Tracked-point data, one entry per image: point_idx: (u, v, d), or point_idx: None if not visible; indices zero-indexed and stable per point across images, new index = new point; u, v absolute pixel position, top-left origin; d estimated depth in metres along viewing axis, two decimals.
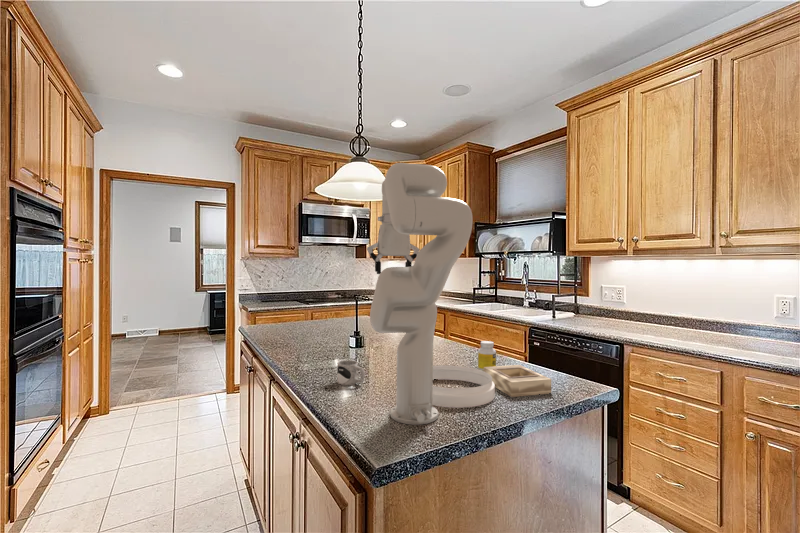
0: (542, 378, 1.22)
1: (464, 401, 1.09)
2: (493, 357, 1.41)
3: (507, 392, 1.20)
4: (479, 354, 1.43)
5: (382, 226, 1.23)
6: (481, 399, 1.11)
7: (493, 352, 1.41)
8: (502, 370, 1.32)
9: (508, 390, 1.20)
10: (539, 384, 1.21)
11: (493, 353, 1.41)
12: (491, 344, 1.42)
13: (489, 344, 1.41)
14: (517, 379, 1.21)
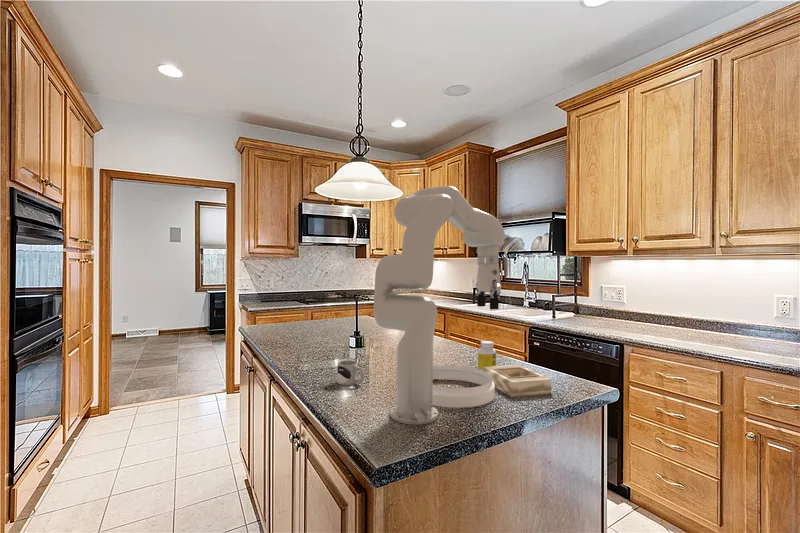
0: (542, 378, 1.22)
1: (464, 401, 1.09)
2: (493, 357, 1.41)
3: (507, 392, 1.20)
4: (479, 354, 1.43)
5: (498, 267, 1.40)
6: (481, 399, 1.11)
7: (493, 352, 1.41)
8: (502, 370, 1.32)
9: (508, 390, 1.20)
10: (539, 384, 1.21)
11: (493, 353, 1.41)
12: (491, 344, 1.42)
13: (489, 344, 1.41)
14: (517, 379, 1.21)
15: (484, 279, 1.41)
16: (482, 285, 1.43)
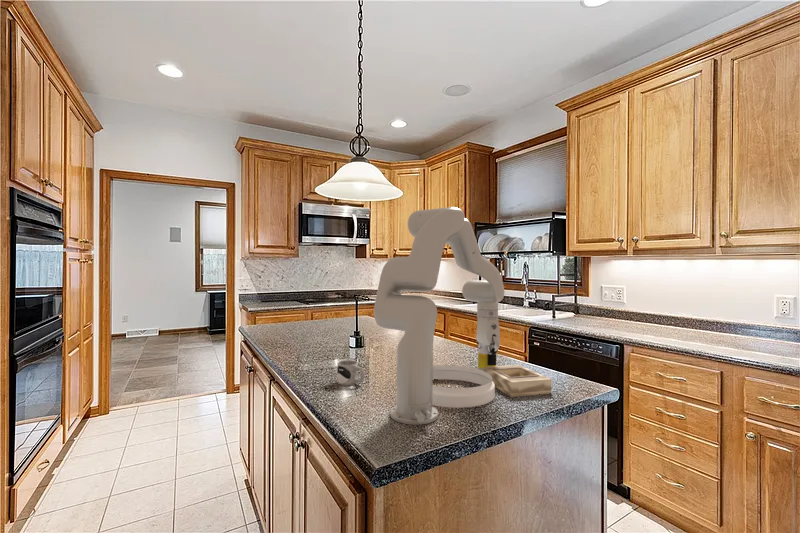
0: (542, 378, 1.22)
1: (464, 401, 1.09)
2: None
3: (507, 392, 1.20)
4: (479, 354, 1.43)
5: (498, 321, 1.40)
6: (481, 399, 1.11)
7: None
8: (502, 370, 1.32)
9: (508, 390, 1.20)
10: (539, 384, 1.21)
11: None
12: (491, 344, 1.42)
13: None
14: (517, 379, 1.21)
15: (484, 333, 1.41)
16: (481, 338, 1.43)
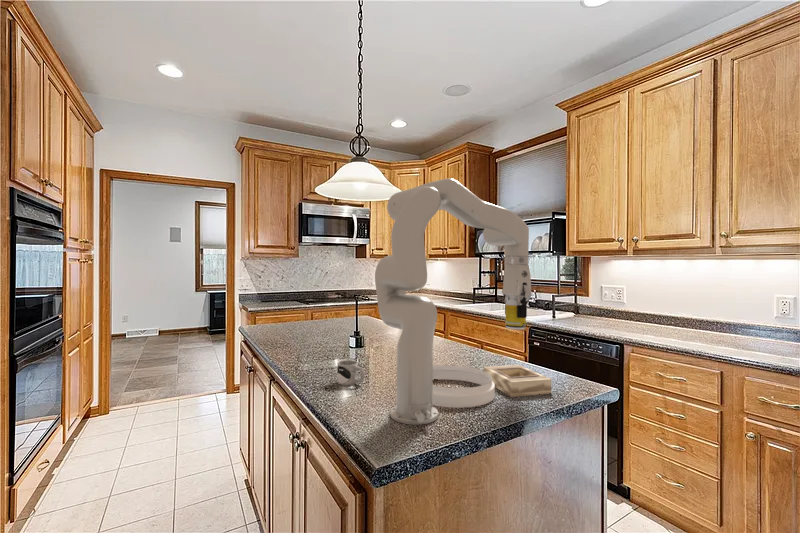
0: (542, 378, 1.22)
1: (464, 401, 1.09)
2: None
3: (507, 392, 1.20)
4: (507, 306, 1.28)
5: (528, 268, 1.25)
6: (481, 399, 1.11)
7: None
8: (502, 370, 1.32)
9: (508, 390, 1.20)
10: (539, 384, 1.21)
11: None
12: None
13: None
14: (517, 379, 1.21)
15: (512, 282, 1.26)
16: (509, 288, 1.28)
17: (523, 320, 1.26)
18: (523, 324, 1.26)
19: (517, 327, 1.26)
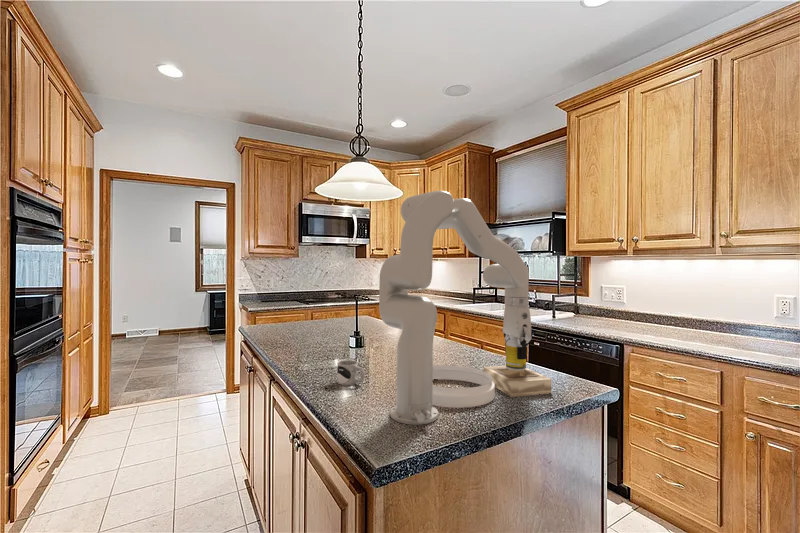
0: (542, 378, 1.22)
1: (464, 401, 1.09)
2: None
3: (507, 392, 1.20)
4: (507, 347, 1.28)
5: None
6: (481, 399, 1.11)
7: None
8: (502, 370, 1.32)
9: (508, 390, 1.20)
10: (539, 384, 1.21)
11: None
12: None
13: None
14: (517, 379, 1.21)
15: (513, 323, 1.26)
16: (509, 329, 1.28)
17: (523, 361, 1.26)
18: (523, 365, 1.26)
19: (518, 369, 1.25)
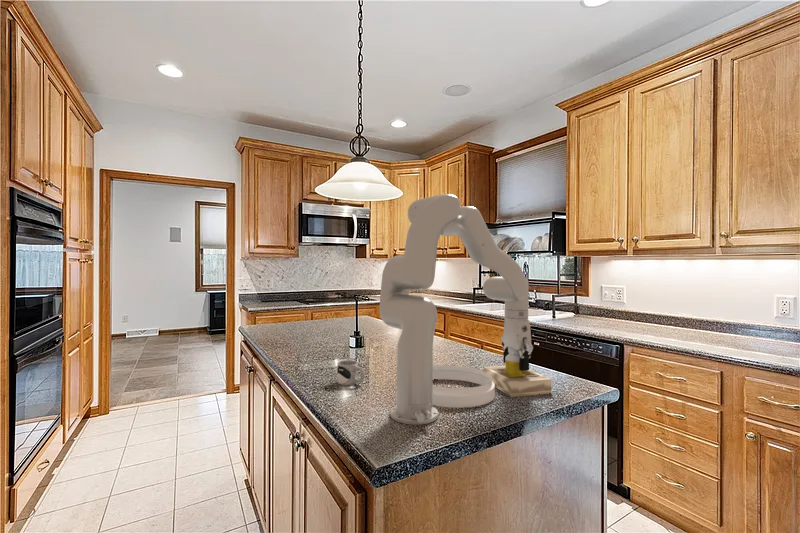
0: (542, 378, 1.22)
1: (464, 401, 1.09)
2: None
3: (507, 392, 1.20)
4: (507, 361, 1.28)
5: (528, 322, 1.25)
6: (481, 399, 1.11)
7: None
8: (502, 370, 1.32)
9: (508, 390, 1.20)
10: (539, 384, 1.21)
11: None
12: None
13: None
14: (517, 379, 1.21)
15: (513, 335, 1.26)
16: (509, 341, 1.28)
17: None
18: None
19: None
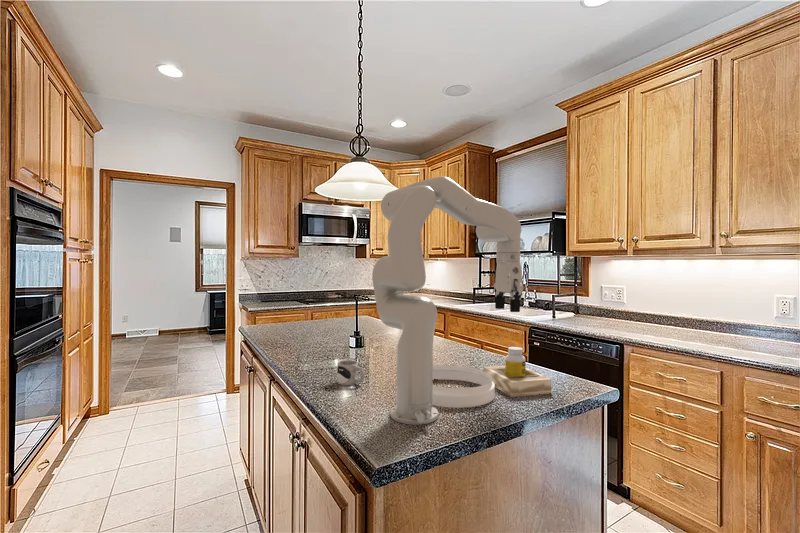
0: (542, 378, 1.22)
1: (464, 401, 1.09)
2: (523, 365, 1.26)
3: (507, 392, 1.20)
4: (507, 361, 1.28)
5: (520, 265, 1.26)
6: (481, 399, 1.11)
7: (523, 359, 1.26)
8: (502, 370, 1.32)
9: (508, 390, 1.20)
10: (539, 384, 1.21)
11: (523, 360, 1.26)
12: (520, 350, 1.27)
13: (518, 350, 1.26)
14: (517, 379, 1.21)
15: (504, 278, 1.27)
16: (501, 285, 1.29)
17: None
18: None
19: None
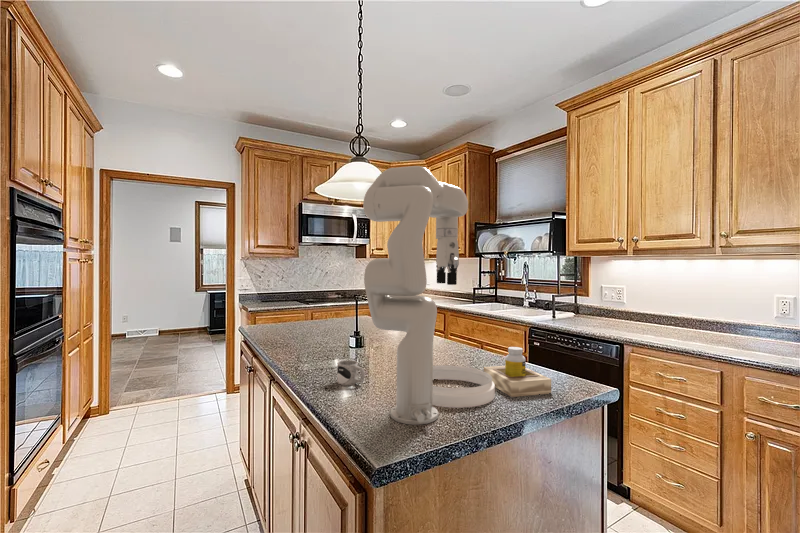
0: (542, 378, 1.22)
1: (464, 401, 1.09)
2: (523, 365, 1.26)
3: (507, 392, 1.20)
4: (507, 361, 1.28)
5: (456, 240, 1.31)
6: (481, 399, 1.11)
7: (523, 359, 1.26)
8: (502, 370, 1.32)
9: (508, 390, 1.20)
10: (539, 384, 1.21)
11: (523, 360, 1.26)
12: (520, 350, 1.27)
13: (518, 350, 1.26)
14: (517, 379, 1.21)
15: (442, 253, 1.32)
16: (440, 259, 1.34)
17: None
18: None
19: None
